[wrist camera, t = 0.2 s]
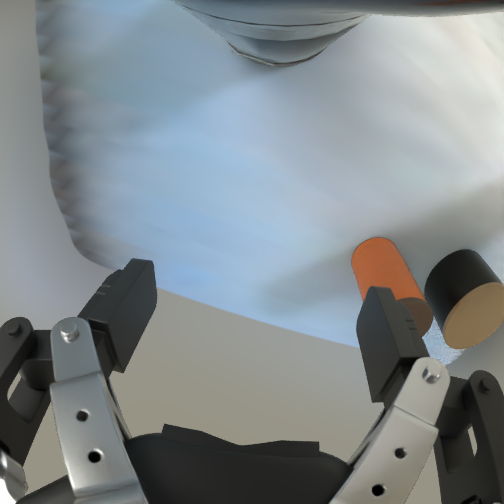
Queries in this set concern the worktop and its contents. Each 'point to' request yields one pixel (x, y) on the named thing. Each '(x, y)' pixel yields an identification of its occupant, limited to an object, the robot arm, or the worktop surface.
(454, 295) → the black canister
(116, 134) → the worktop surface
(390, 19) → the worktop surface
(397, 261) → the orange tin
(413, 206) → the worktop surface
